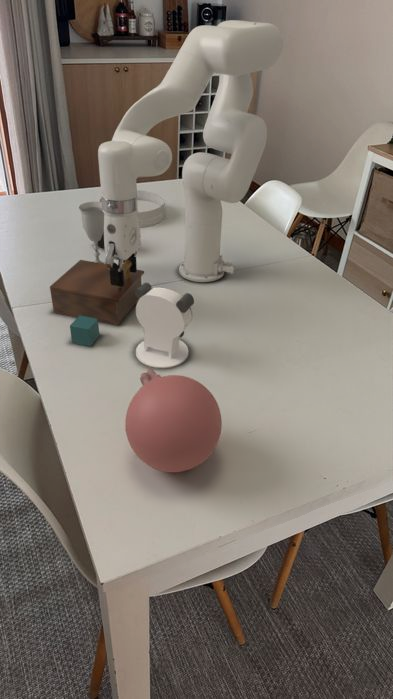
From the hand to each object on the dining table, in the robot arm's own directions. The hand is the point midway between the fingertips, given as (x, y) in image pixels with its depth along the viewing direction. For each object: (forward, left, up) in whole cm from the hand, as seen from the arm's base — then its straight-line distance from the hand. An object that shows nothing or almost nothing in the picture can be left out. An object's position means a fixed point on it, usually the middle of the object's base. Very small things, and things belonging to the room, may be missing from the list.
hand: (123, 277), depth 119 cm
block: (+3, +15, -8) cm, 18 cm away
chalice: (+15, -16, -9) cm, 24 cm away
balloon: (-25, +39, -9) cm, 48 cm away
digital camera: (+17, -31, -9) cm, 36 cm away
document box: (+7, 0, -8) cm, 11 cm away
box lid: (+7, 0, -2) cm, 7 cm away
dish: (+22, -57, -9) cm, 62 cm away
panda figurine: (-15, +14, -9) cm, 22 cm away
